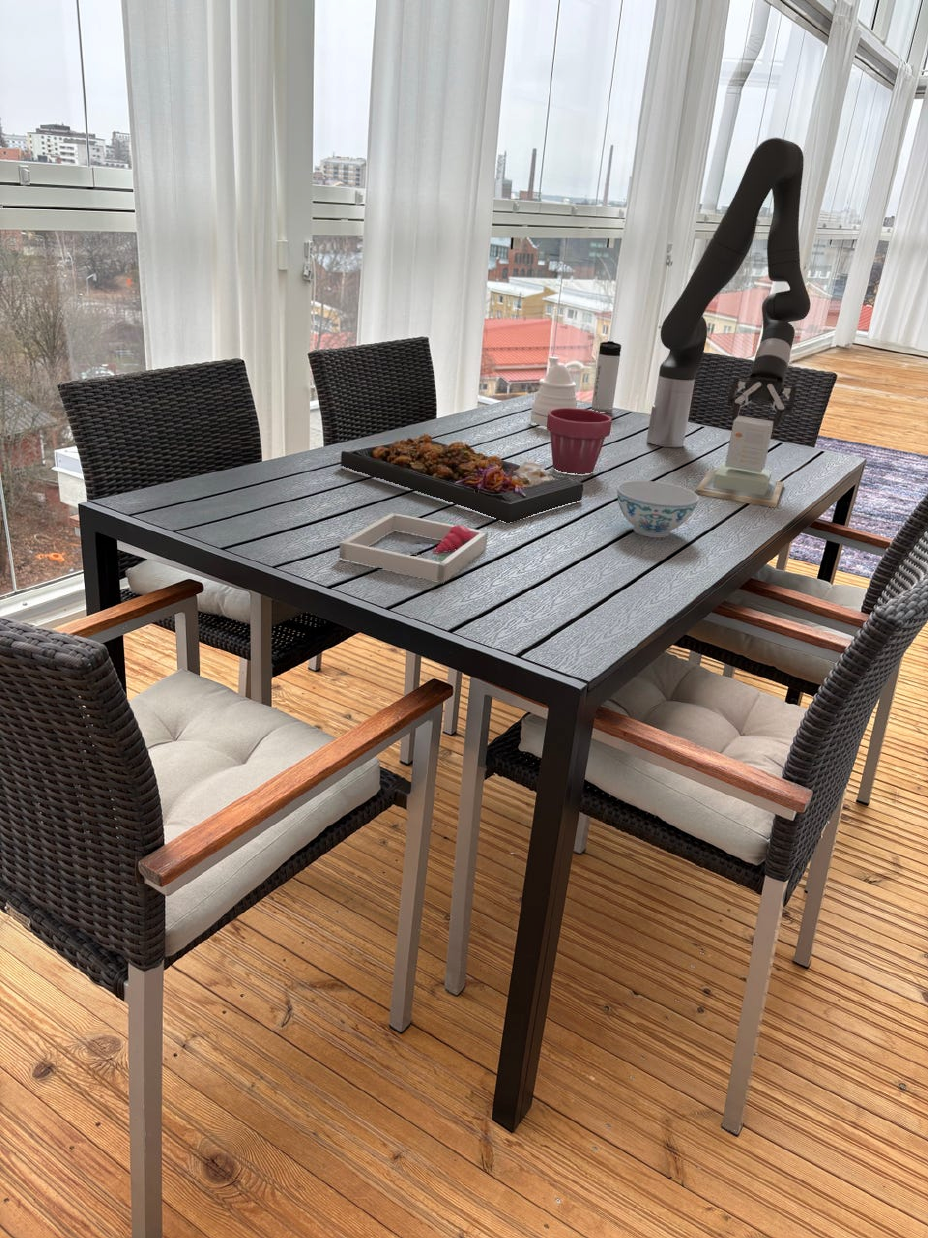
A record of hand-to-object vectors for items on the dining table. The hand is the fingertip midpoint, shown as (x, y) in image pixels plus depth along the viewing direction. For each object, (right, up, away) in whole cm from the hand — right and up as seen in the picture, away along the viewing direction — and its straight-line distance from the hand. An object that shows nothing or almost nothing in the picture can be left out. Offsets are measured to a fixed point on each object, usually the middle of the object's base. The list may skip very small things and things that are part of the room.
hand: (754, 423), depth 209 cm
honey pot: (-39, +10, +51) cm, 65 cm away
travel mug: (-23, +19, +75) cm, 81 cm away
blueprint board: (-2, -14, +4) cm, 15 cm away
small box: (-2, -9, +2) cm, 10 cm away
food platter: (-65, -16, -11) cm, 68 cm away
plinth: (-2, -14, +4) cm, 15 cm away
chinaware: (-29, -27, -30) cm, 49 cm away
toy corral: (-72, -32, -52) cm, 94 cm away
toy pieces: (-69, -32, -50) cm, 91 cm away
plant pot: (-39, -9, +7) cm, 41 cm away
